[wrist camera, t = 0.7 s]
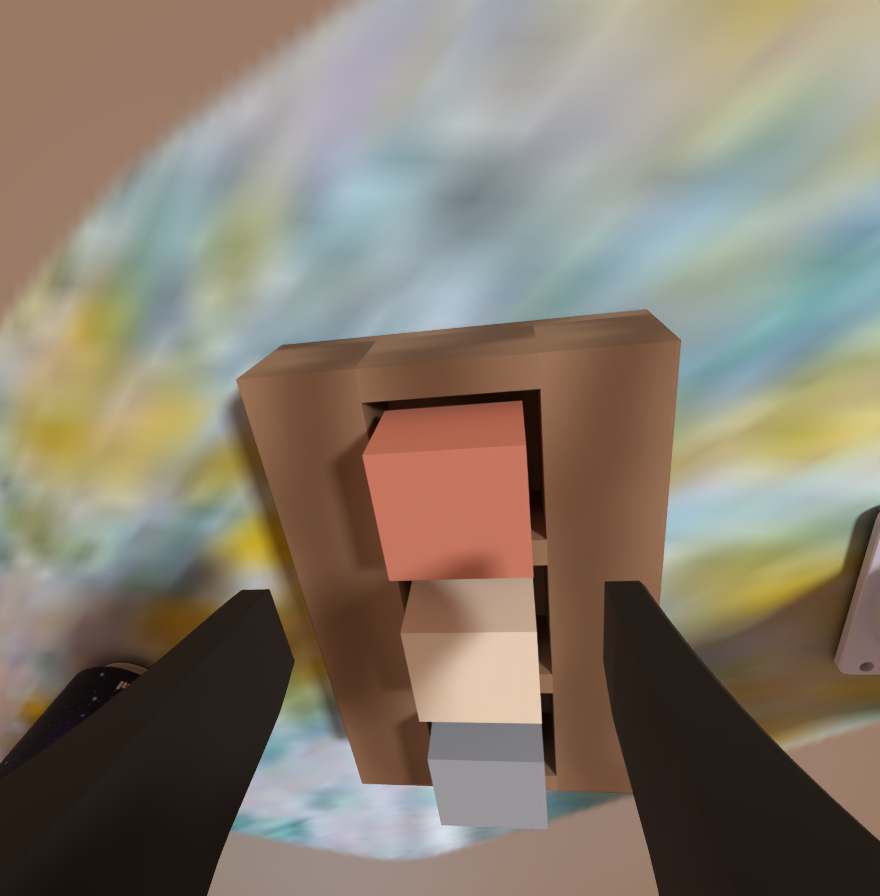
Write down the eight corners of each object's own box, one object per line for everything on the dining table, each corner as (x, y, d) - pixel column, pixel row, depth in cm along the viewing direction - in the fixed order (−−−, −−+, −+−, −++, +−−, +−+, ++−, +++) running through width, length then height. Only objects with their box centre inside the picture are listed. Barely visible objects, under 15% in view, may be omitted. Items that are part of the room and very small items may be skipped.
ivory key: (531, 567, 17) (536, 631, 15) (536, 653, 19) (541, 723, 17) (414, 570, 18) (400, 633, 16) (429, 653, 20) (419, 721, 17)
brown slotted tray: (646, 309, 16) (680, 340, 13) (626, 716, 25) (644, 793, 21) (281, 345, 18) (235, 379, 15) (378, 712, 26) (362, 783, 23)
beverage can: (177, 737, 29) (-9, 1055, 19) (78, 700, 29) (-172, 1007, 18) (198, 678, 27) (-4, 1007, 16) (90, 636, 26) (-194, 949, 15)
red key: (521, 400, 15) (525, 445, 12) (528, 517, 17) (533, 577, 14) (384, 410, 15) (362, 455, 13) (405, 523, 17) (389, 580, 15)
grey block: (539, 690, 20) (544, 762, 18) (542, 756, 22) (548, 829, 19) (436, 690, 21) (427, 759, 18) (448, 753, 22) (441, 824, 20)
